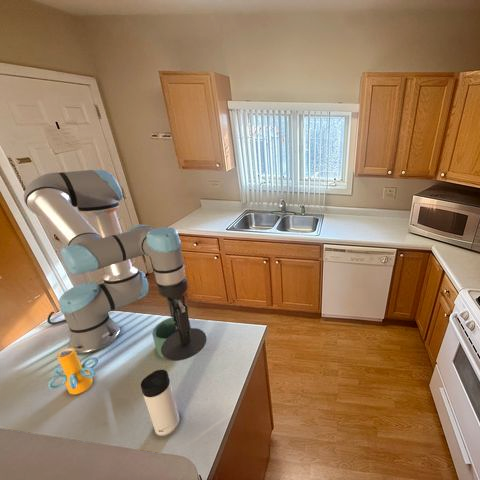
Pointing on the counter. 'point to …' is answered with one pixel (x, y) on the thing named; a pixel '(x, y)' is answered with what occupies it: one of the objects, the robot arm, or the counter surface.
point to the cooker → (163, 333)
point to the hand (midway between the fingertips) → (184, 340)
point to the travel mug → (160, 402)
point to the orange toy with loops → (73, 372)
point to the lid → (177, 351)
